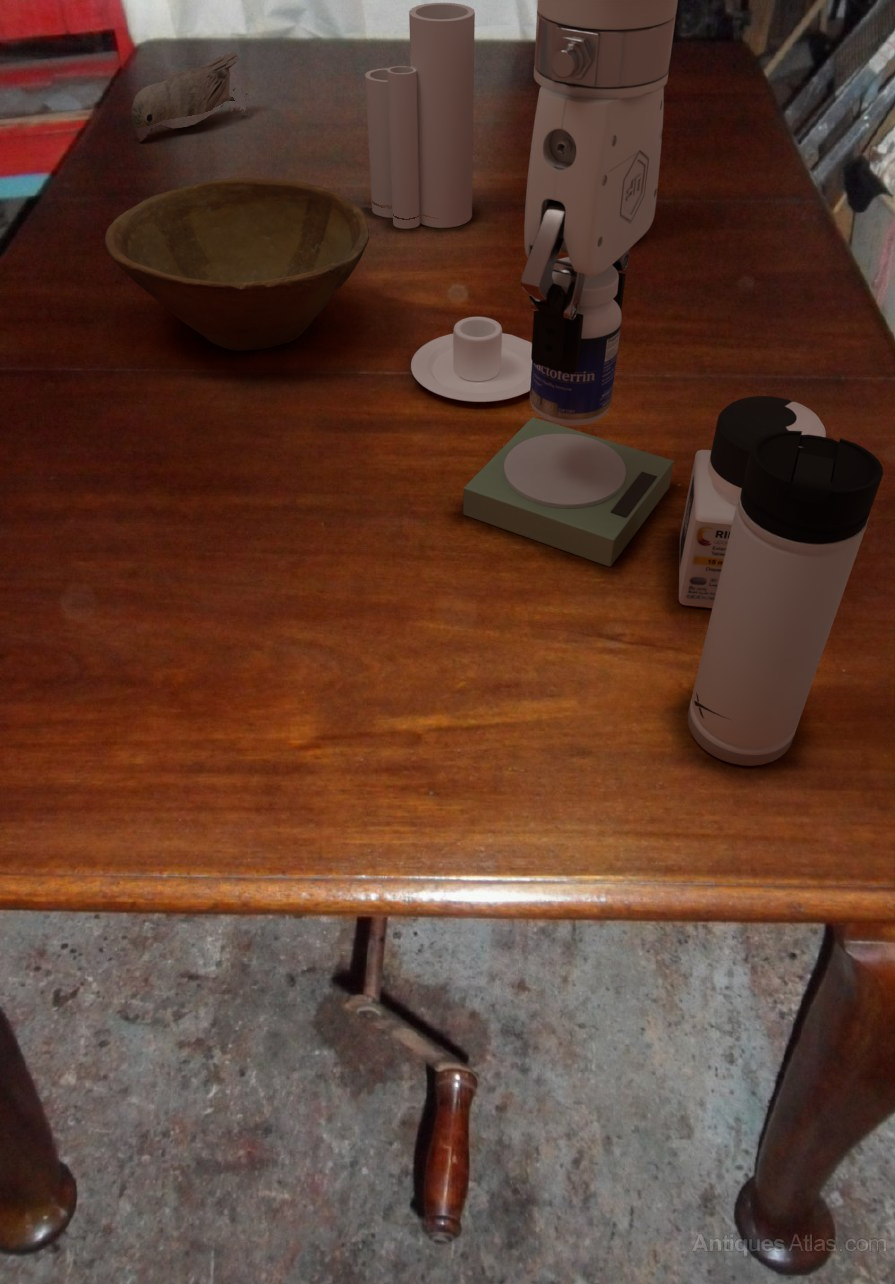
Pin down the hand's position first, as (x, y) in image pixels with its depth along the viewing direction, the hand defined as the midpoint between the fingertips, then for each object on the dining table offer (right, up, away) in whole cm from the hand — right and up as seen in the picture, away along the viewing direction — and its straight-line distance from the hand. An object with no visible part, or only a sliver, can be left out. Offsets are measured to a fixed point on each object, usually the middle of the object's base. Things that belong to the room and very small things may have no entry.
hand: (576, 343), depth 71 cm
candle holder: (-6, +4, +22) cm, 23 cm away
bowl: (-27, +9, +28) cm, 40 cm away
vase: (-12, +27, +46) cm, 55 cm away
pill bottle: (0, -4, +4) cm, 5 cm away
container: (+11, -16, +3) cm, 20 cm away
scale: (0, -9, +9) cm, 13 cm away
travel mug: (+9, -26, -7) cm, 28 cm away
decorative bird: (-42, +46, +66) cm, 91 cm away
